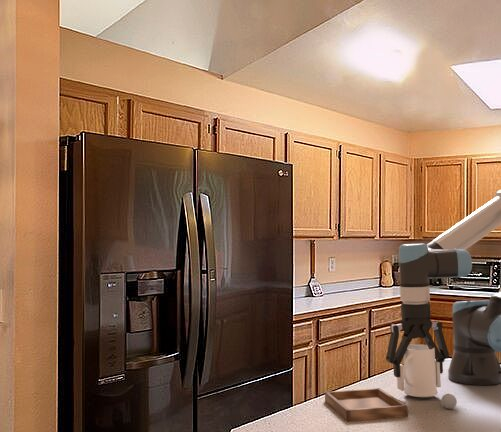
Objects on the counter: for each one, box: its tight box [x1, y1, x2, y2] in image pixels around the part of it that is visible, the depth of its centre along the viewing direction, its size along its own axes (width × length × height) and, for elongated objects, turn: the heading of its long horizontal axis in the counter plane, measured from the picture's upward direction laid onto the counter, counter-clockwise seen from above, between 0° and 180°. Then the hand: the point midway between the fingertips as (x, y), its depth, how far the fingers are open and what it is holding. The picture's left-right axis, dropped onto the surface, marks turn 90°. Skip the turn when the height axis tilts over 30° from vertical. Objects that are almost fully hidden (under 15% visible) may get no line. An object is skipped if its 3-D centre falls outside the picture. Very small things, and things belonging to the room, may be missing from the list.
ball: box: [441, 393, 458, 410], centre depth 149 cm, size 4×4×4 cm
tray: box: [324, 387, 409, 422], centre depth 151 cm, size 15×17×2 cm
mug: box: [402, 344, 439, 398], centre depth 160 cm, size 12×8×12 cm
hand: (419, 387), depth 160 cm, fingers closed on mug, 9 cm apart
